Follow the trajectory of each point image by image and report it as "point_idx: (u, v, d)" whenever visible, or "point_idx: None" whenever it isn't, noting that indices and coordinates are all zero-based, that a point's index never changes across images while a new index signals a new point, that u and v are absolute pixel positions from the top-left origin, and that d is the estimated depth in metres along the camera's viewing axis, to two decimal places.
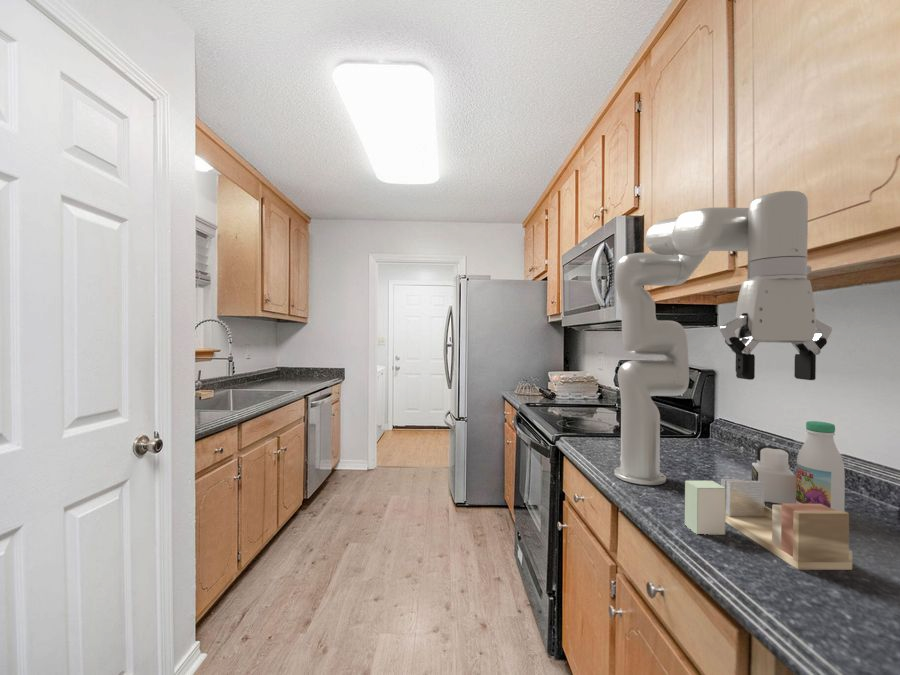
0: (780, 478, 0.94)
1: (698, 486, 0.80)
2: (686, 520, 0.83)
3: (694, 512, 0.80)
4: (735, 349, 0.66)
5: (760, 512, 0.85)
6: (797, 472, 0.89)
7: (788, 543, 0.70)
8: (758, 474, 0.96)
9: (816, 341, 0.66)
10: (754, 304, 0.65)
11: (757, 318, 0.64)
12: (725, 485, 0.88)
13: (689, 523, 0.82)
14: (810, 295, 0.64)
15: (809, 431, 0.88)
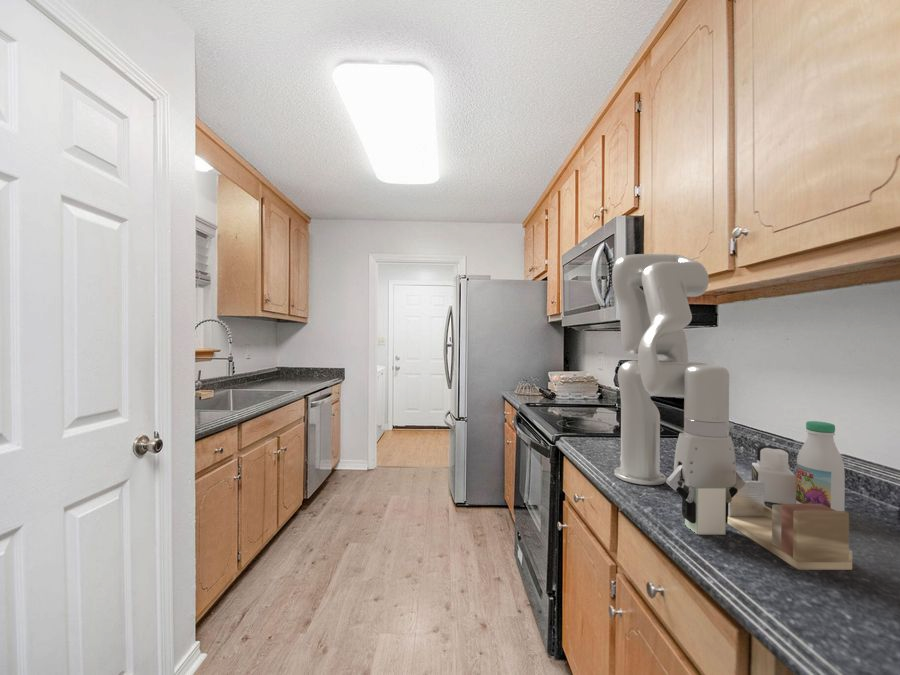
0: (780, 478, 0.94)
1: None
2: (686, 520, 0.83)
3: None
4: (681, 496, 0.81)
5: (760, 512, 0.85)
6: (797, 472, 0.89)
7: (788, 543, 0.70)
8: (758, 474, 0.96)
9: (729, 490, 0.81)
10: (686, 457, 0.80)
11: (688, 469, 0.79)
12: None
13: (689, 523, 0.82)
14: (731, 451, 0.79)
15: (809, 431, 0.88)
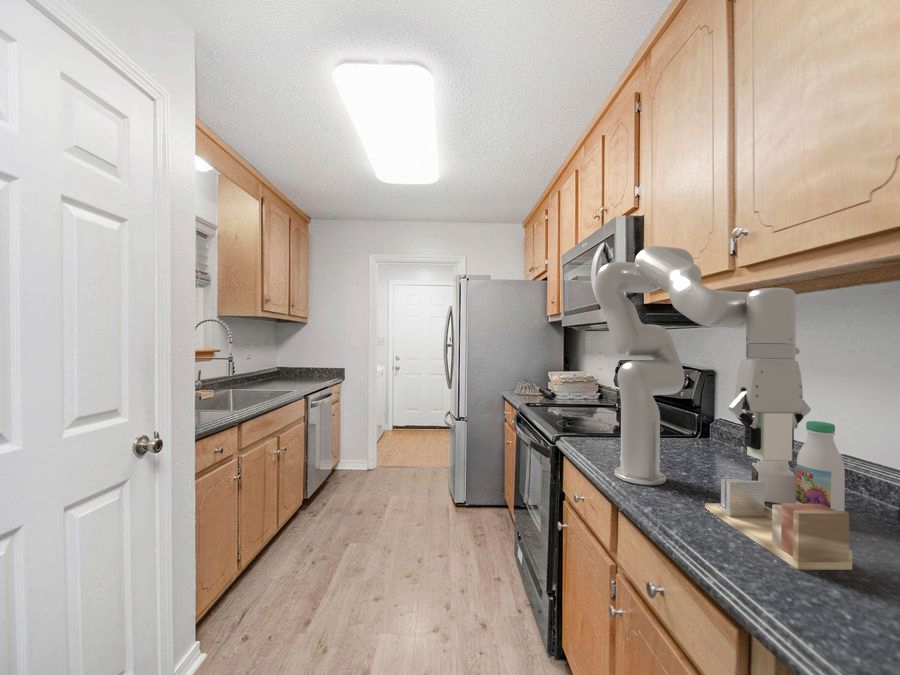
0: (780, 478, 0.94)
1: None
2: (749, 449, 0.80)
3: None
4: (744, 423, 0.79)
5: (760, 512, 0.85)
6: (797, 472, 0.89)
7: (788, 543, 0.70)
8: (758, 474, 0.96)
9: None
10: (751, 381, 0.77)
11: (754, 393, 0.77)
12: (725, 485, 0.88)
13: (753, 451, 0.79)
14: (798, 374, 0.77)
15: (809, 431, 0.88)
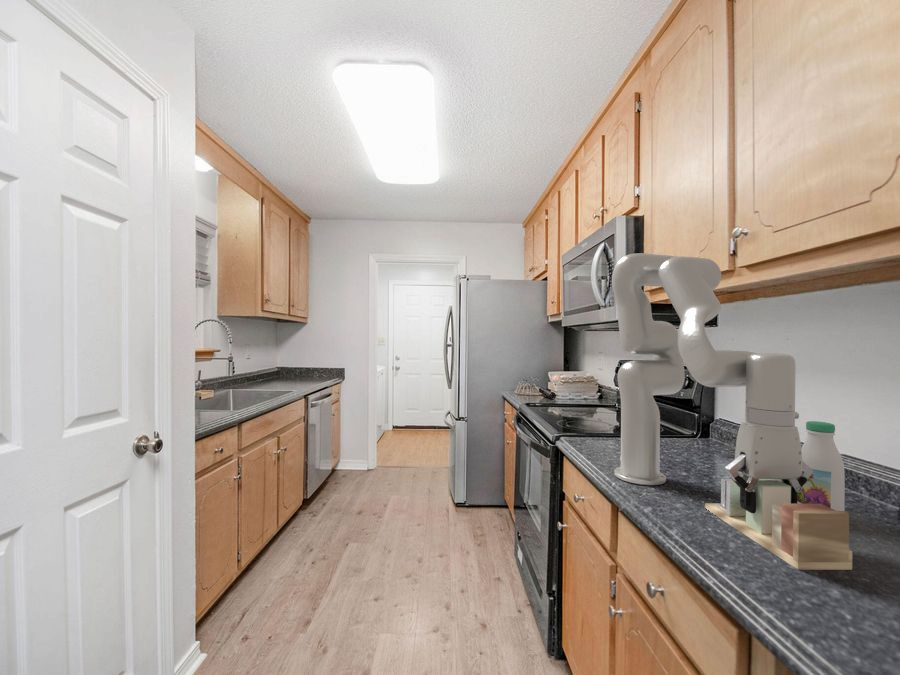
0: None
1: (762, 484, 0.78)
2: (748, 519, 0.81)
3: (758, 511, 0.78)
4: (739, 485, 0.79)
5: None
6: None
7: (788, 543, 0.70)
8: None
9: (798, 479, 0.79)
10: (751, 447, 0.77)
11: (753, 460, 0.77)
12: (725, 485, 0.88)
13: (751, 522, 0.80)
14: (797, 440, 0.77)
15: (809, 431, 0.88)
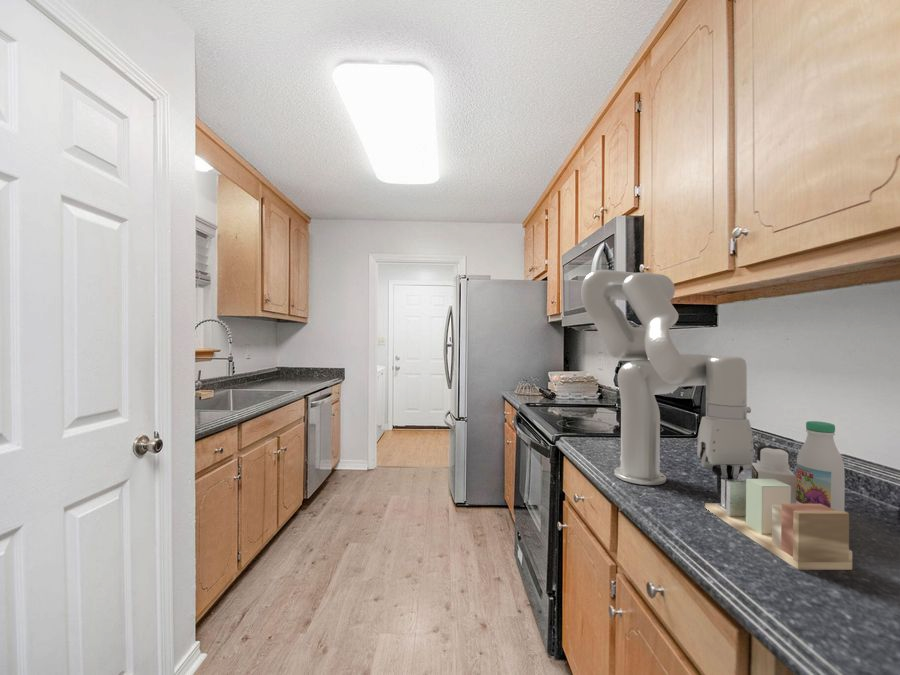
0: (780, 478, 0.94)
1: (762, 484, 0.78)
2: (748, 519, 0.81)
3: (758, 511, 0.78)
4: (716, 474, 0.91)
5: None
6: (797, 472, 0.89)
7: (788, 543, 0.70)
8: (758, 474, 0.96)
9: None
10: (709, 437, 0.90)
11: (711, 448, 0.89)
12: (725, 485, 0.88)
13: (751, 522, 0.80)
14: (749, 431, 0.89)
15: (809, 431, 0.88)
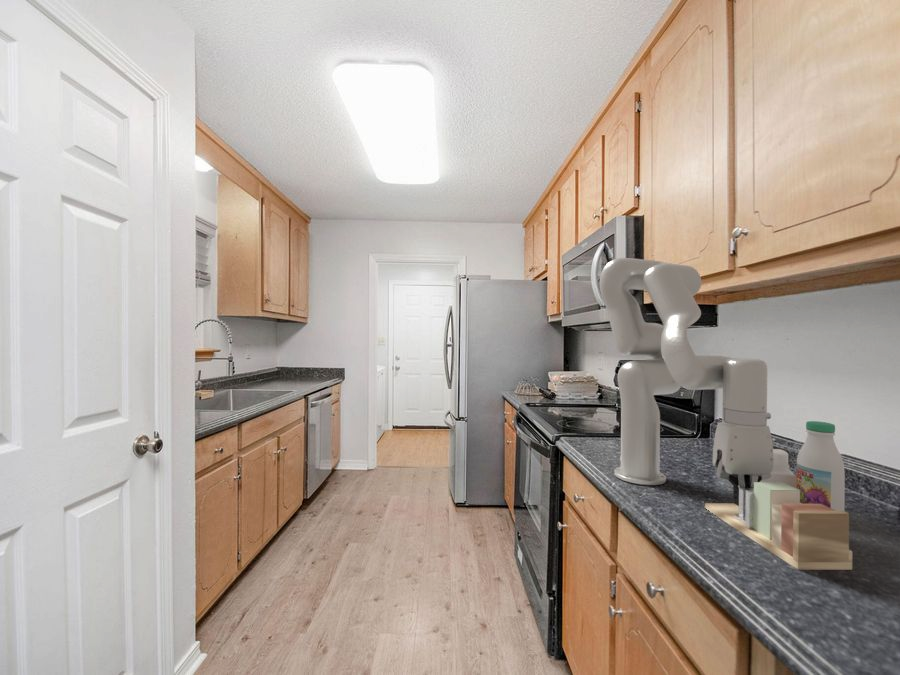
0: (780, 478, 0.94)
1: (770, 488, 0.76)
2: (755, 524, 0.79)
3: (766, 515, 0.76)
4: (733, 483, 0.86)
5: None
6: (797, 472, 0.89)
7: (788, 543, 0.70)
8: None
9: None
10: (726, 445, 0.84)
11: (728, 457, 0.84)
12: (743, 495, 0.83)
13: (759, 527, 0.78)
14: (769, 439, 0.84)
15: (809, 431, 0.88)
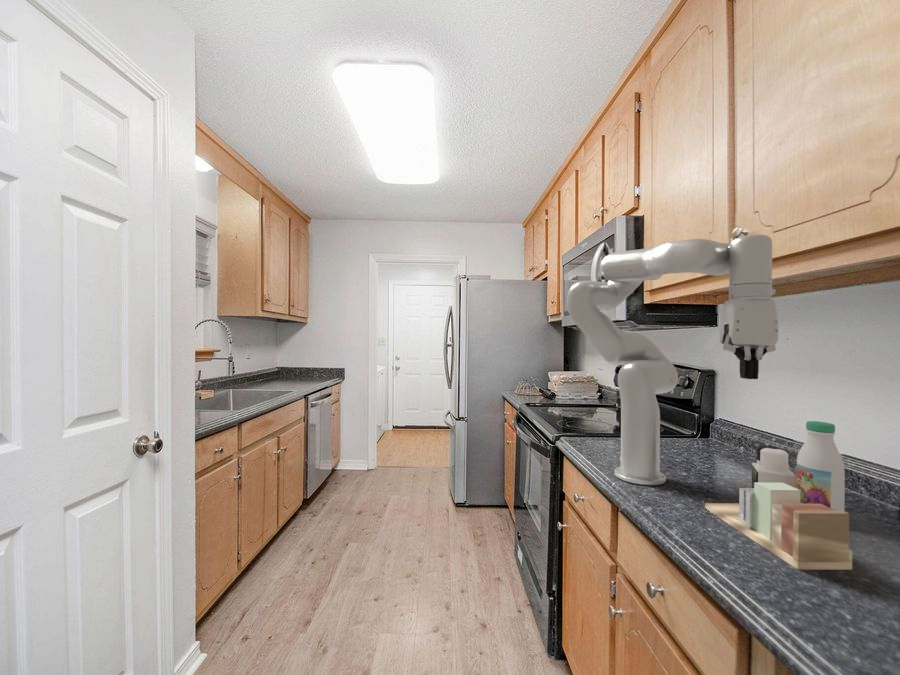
0: (780, 478, 0.94)
1: (771, 488, 0.76)
2: (756, 524, 0.79)
3: (766, 516, 0.76)
4: (739, 356, 0.90)
5: None
6: (797, 472, 0.89)
7: (788, 543, 0.70)
8: (758, 474, 0.96)
9: None
10: (733, 317, 0.88)
11: (735, 328, 0.88)
12: (744, 495, 0.83)
13: (760, 527, 0.78)
14: (774, 311, 0.88)
15: (809, 431, 0.88)
